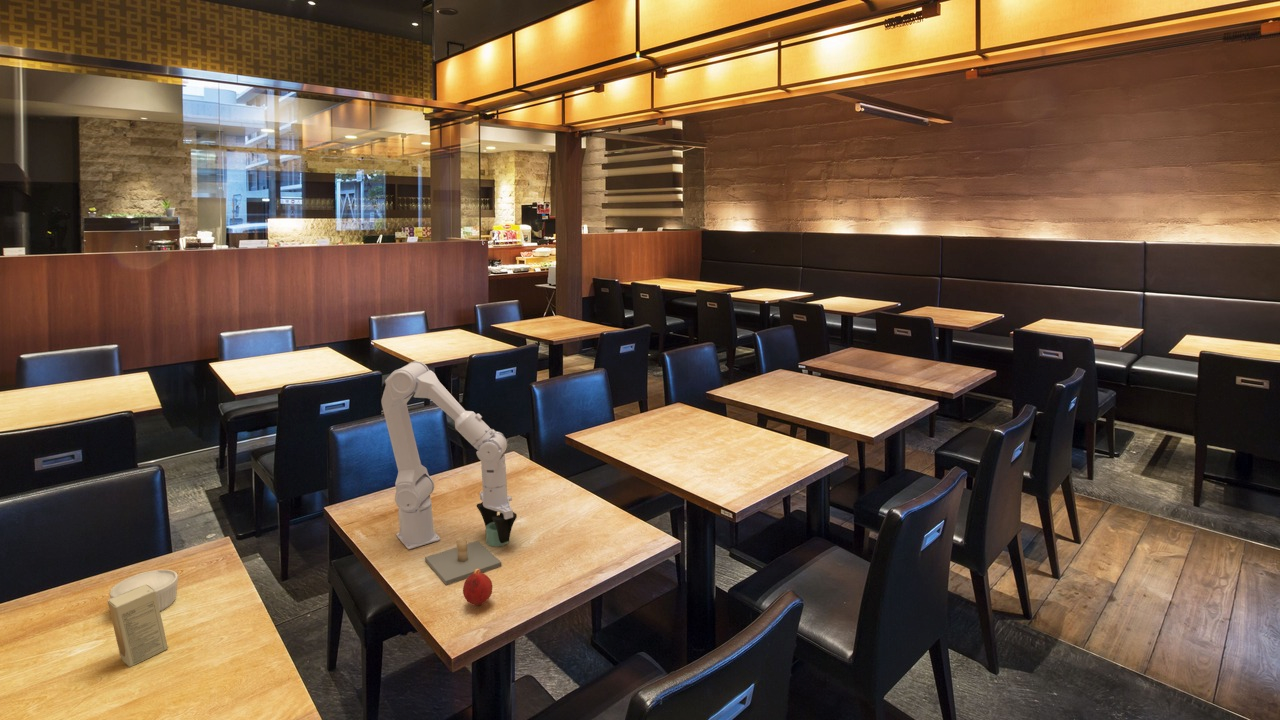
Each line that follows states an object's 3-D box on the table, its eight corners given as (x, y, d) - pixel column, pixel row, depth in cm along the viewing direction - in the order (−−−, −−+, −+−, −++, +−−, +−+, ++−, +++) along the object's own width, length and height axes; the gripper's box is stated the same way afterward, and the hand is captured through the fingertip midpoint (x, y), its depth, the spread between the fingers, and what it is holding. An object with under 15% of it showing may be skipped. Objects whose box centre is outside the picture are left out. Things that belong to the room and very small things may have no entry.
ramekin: (194, 596, 139) (190, 573, 138) (140, 626, 129) (135, 602, 128) (156, 587, 143) (152, 565, 142) (101, 616, 133) (96, 592, 132)
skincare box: (159, 641, 124) (148, 582, 122) (169, 649, 122) (158, 589, 119) (118, 659, 119) (105, 598, 117) (127, 668, 117) (115, 606, 114)
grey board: (425, 561, 152) (424, 557, 152) (478, 544, 160) (478, 540, 160) (446, 585, 142) (445, 581, 142) (501, 566, 150) (501, 562, 150)
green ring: (483, 540, 162) (482, 525, 161) (503, 533, 165) (502, 519, 164) (492, 548, 158) (491, 533, 157) (513, 542, 161) (512, 526, 160)
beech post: (456, 559, 151) (454, 539, 150) (465, 556, 152) (464, 536, 151) (460, 563, 149) (458, 542, 148) (469, 560, 151) (467, 539, 150)
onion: (486, 615, 131) (483, 578, 130) (459, 612, 132) (456, 575, 131) (497, 598, 137) (495, 563, 135) (472, 596, 138) (469, 561, 136)
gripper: (523, 488, 155) (526, 542, 158) (497, 470, 166) (500, 520, 169) (495, 496, 151) (499, 551, 154) (470, 477, 162) (474, 528, 165)
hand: (497, 535), depth 161 cm, fingers open, 7 cm apart
